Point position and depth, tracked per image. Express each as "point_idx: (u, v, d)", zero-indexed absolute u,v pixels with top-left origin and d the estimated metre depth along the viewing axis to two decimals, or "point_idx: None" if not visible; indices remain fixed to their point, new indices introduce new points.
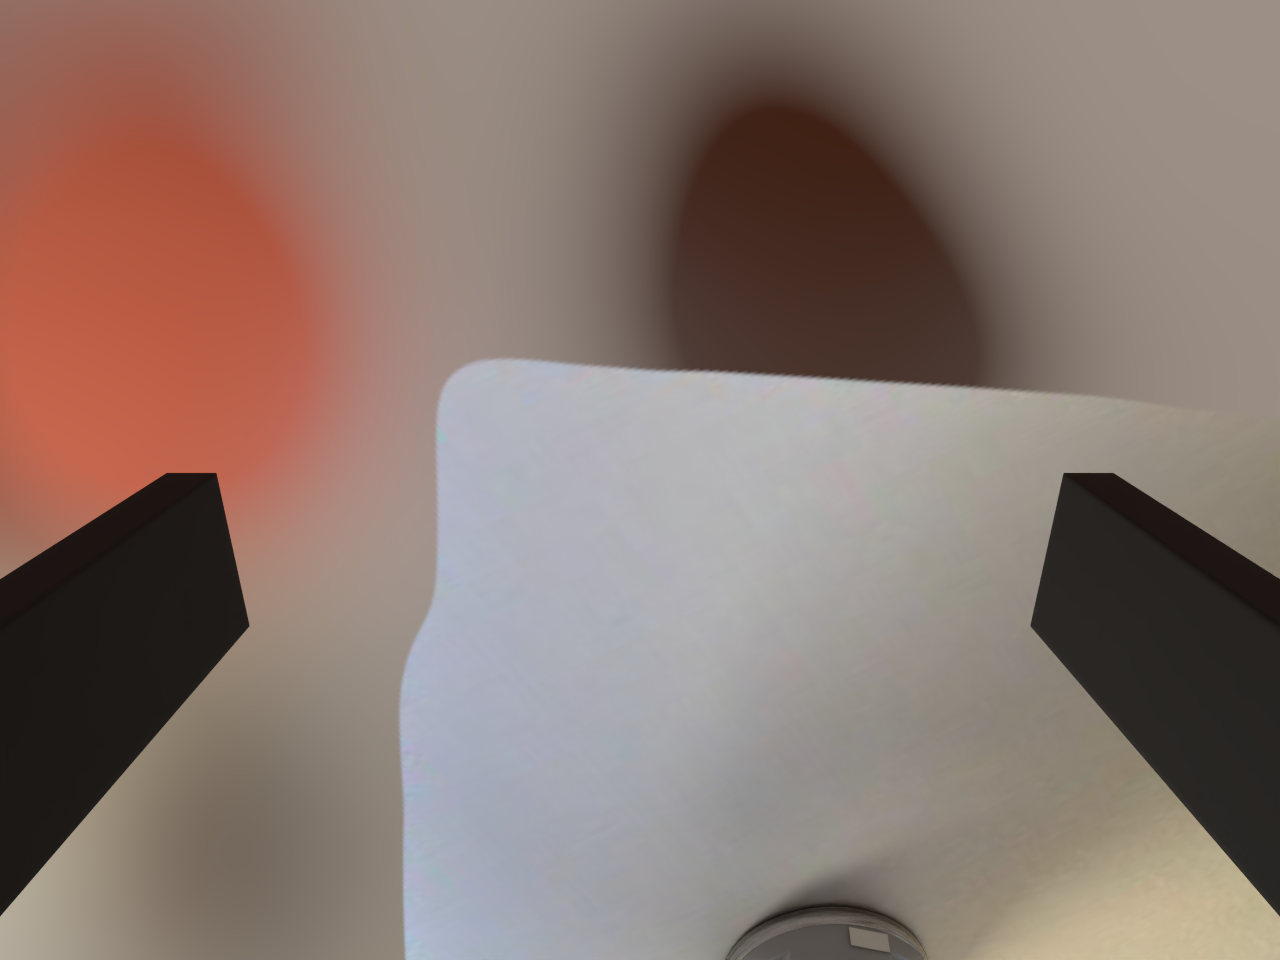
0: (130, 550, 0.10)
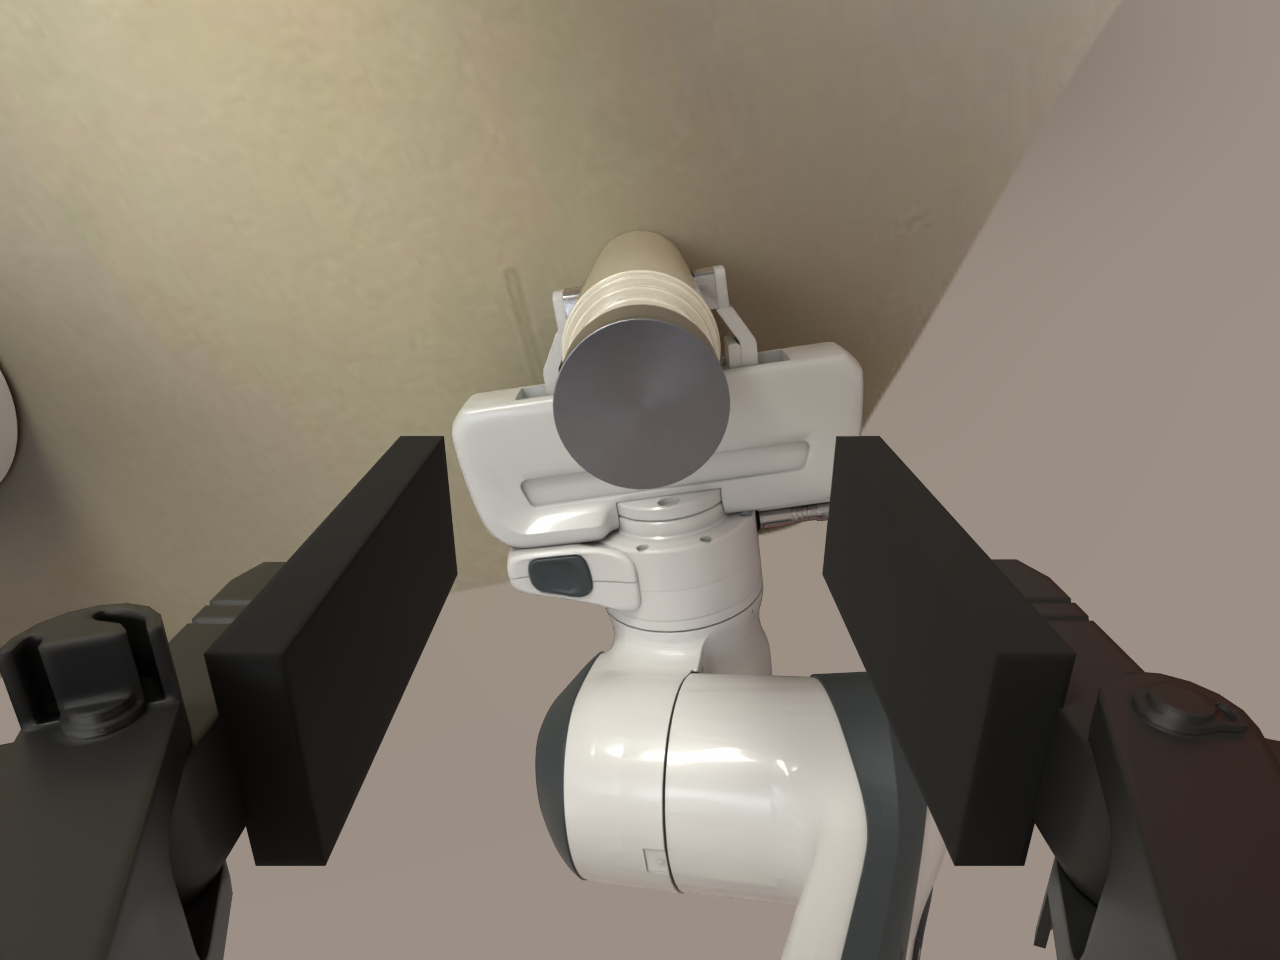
0: (409, 495, 0.11)
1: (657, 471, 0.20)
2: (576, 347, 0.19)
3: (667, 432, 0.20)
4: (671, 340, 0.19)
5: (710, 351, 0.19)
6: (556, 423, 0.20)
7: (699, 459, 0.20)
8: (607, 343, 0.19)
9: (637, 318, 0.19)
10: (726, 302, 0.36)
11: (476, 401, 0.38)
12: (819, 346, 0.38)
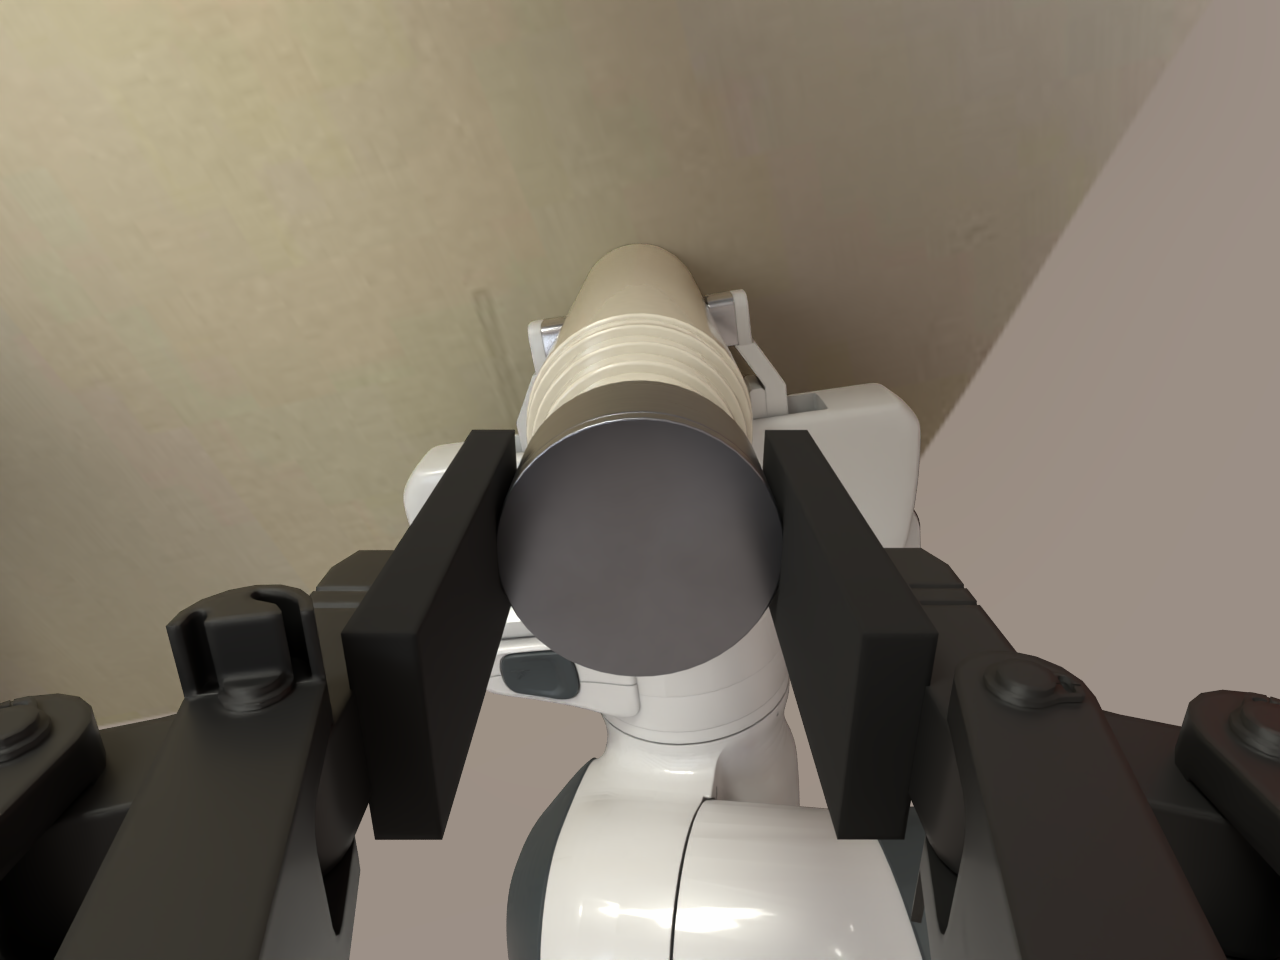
0: (493, 487, 0.12)
1: (665, 651, 0.13)
2: (531, 463, 0.11)
3: (682, 593, 0.12)
4: (689, 452, 0.11)
5: (754, 469, 0.12)
6: (502, 579, 0.12)
7: (733, 633, 0.13)
8: (583, 457, 0.11)
9: (633, 417, 0.11)
10: (748, 337, 0.28)
11: (435, 458, 0.31)
12: (862, 389, 0.31)
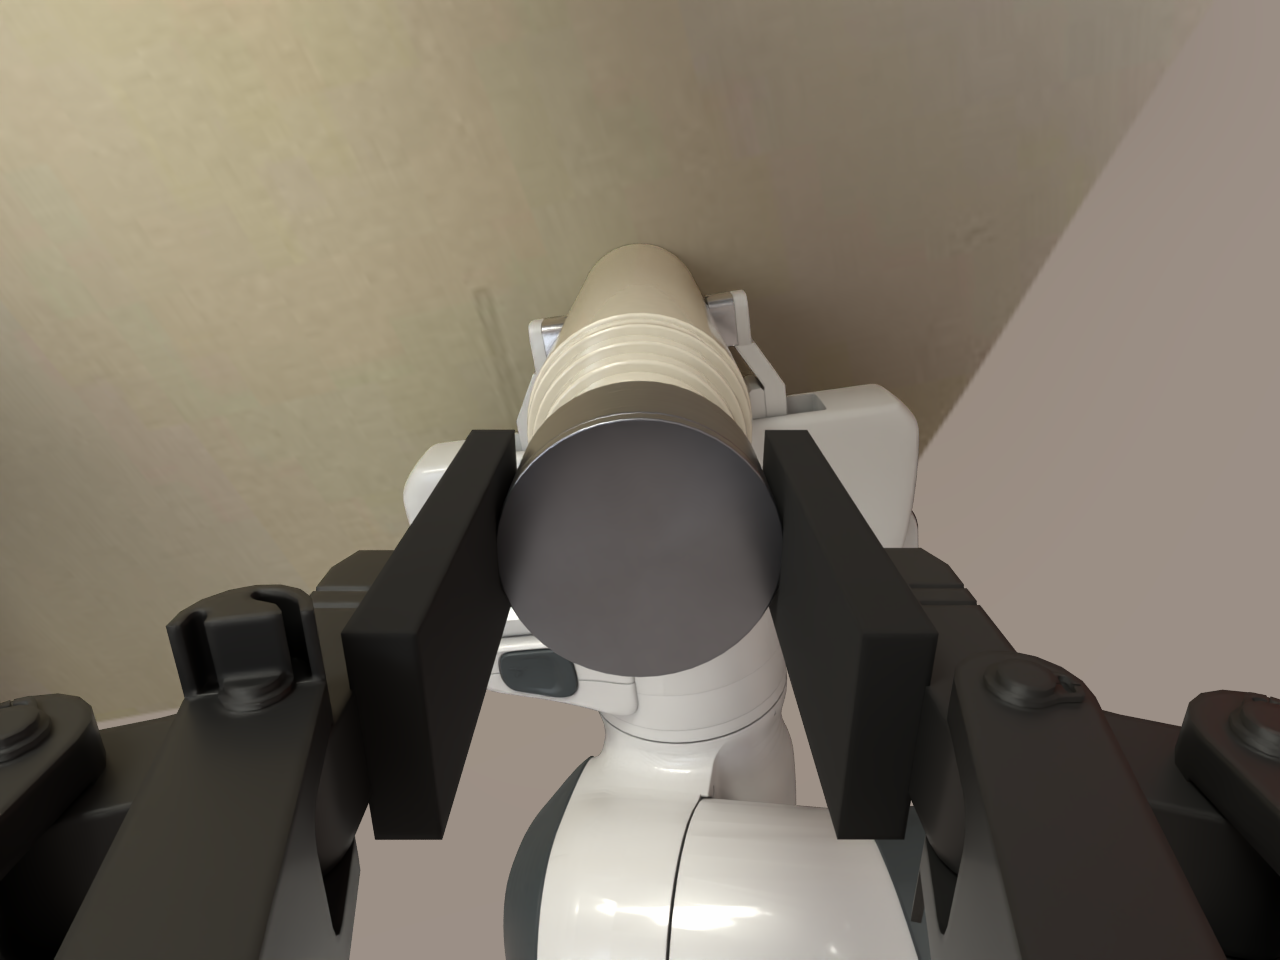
0: (493, 486, 0.12)
1: (753, 542, 0.12)
2: None
3: (686, 522, 0.12)
4: (531, 504, 0.12)
5: (554, 444, 0.11)
6: (652, 674, 0.13)
7: (742, 475, 0.12)
8: (531, 595, 0.12)
9: None
10: (748, 337, 0.29)
11: (434, 456, 0.31)
12: (861, 390, 0.31)
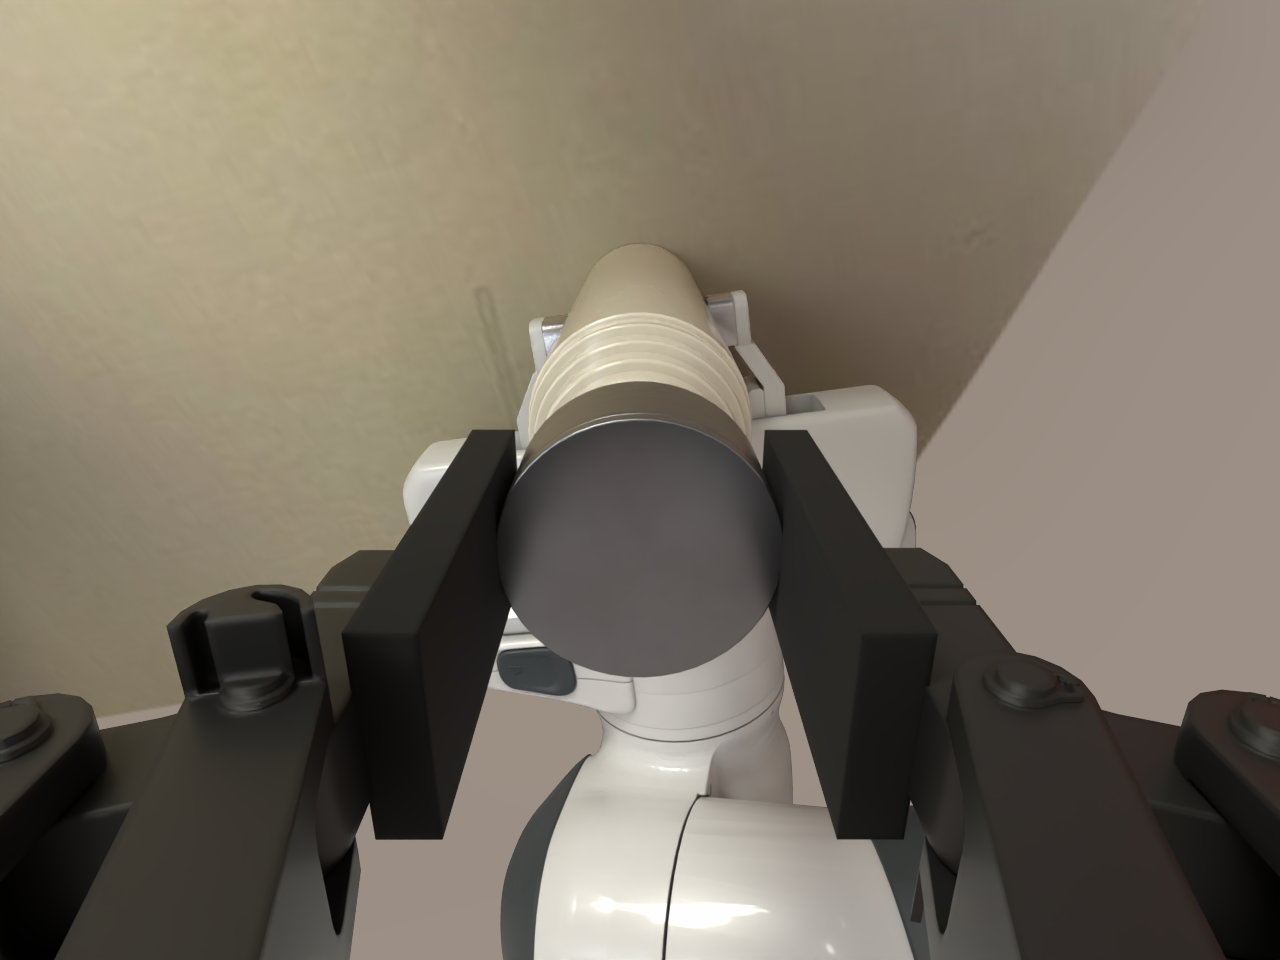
0: (493, 486, 0.12)
1: (634, 450, 0.11)
2: None
3: (604, 512, 0.12)
4: (575, 642, 0.13)
5: (518, 615, 0.13)
6: None
7: (557, 458, 0.11)
8: (670, 654, 0.13)
9: (619, 674, 0.13)
10: (748, 337, 0.29)
11: (434, 454, 0.31)
12: (860, 391, 0.31)
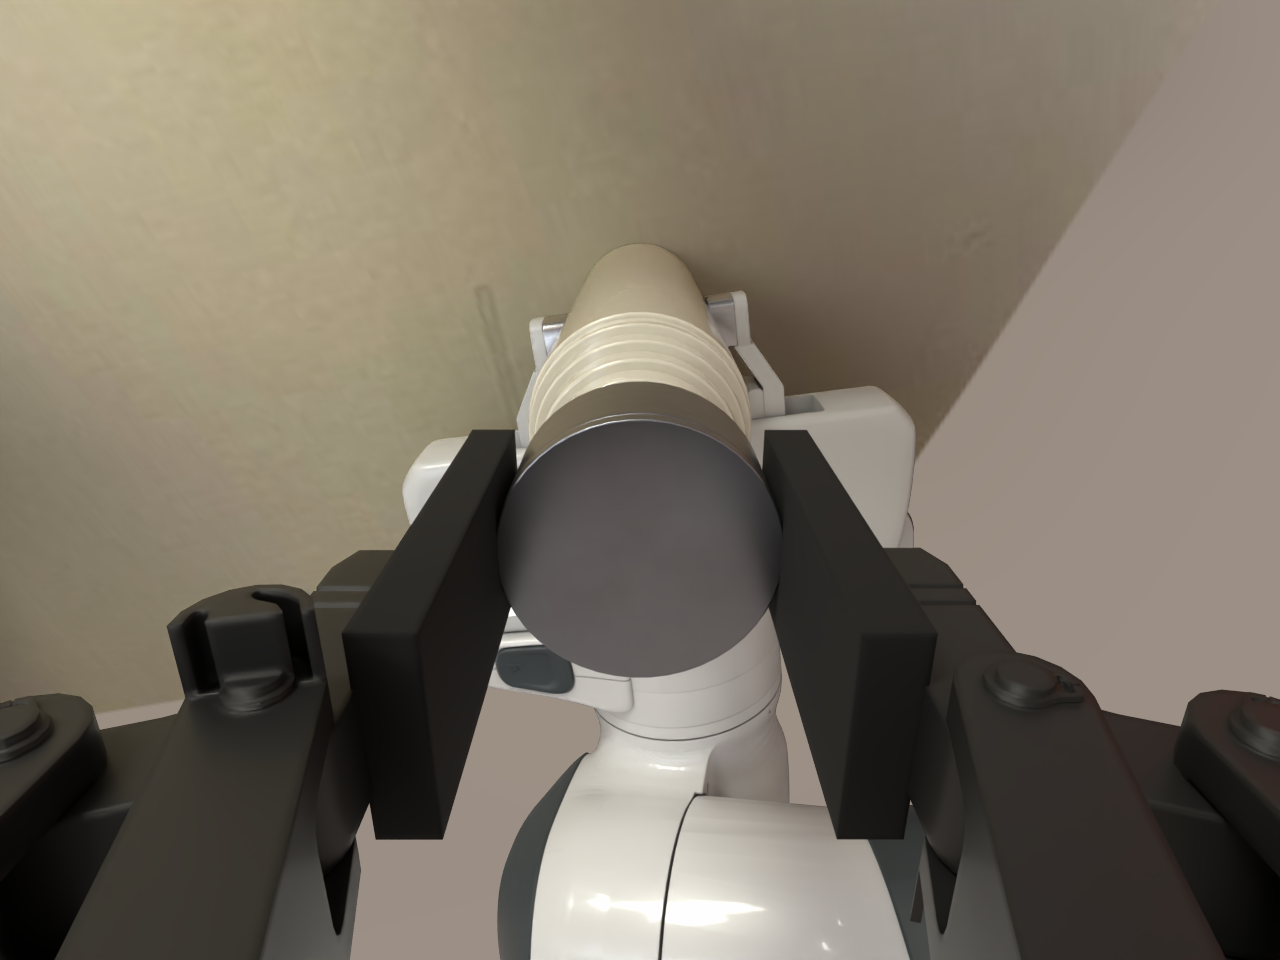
0: (493, 486, 0.12)
1: (525, 553, 0.12)
2: (769, 493, 0.12)
3: (588, 584, 0.12)
4: (728, 624, 0.13)
5: (693, 666, 0.13)
6: (654, 422, 0.11)
7: (530, 617, 0.12)
8: (757, 538, 0.12)
9: (776, 586, 0.12)
10: (747, 338, 0.29)
11: (434, 452, 0.31)
12: (859, 392, 0.31)
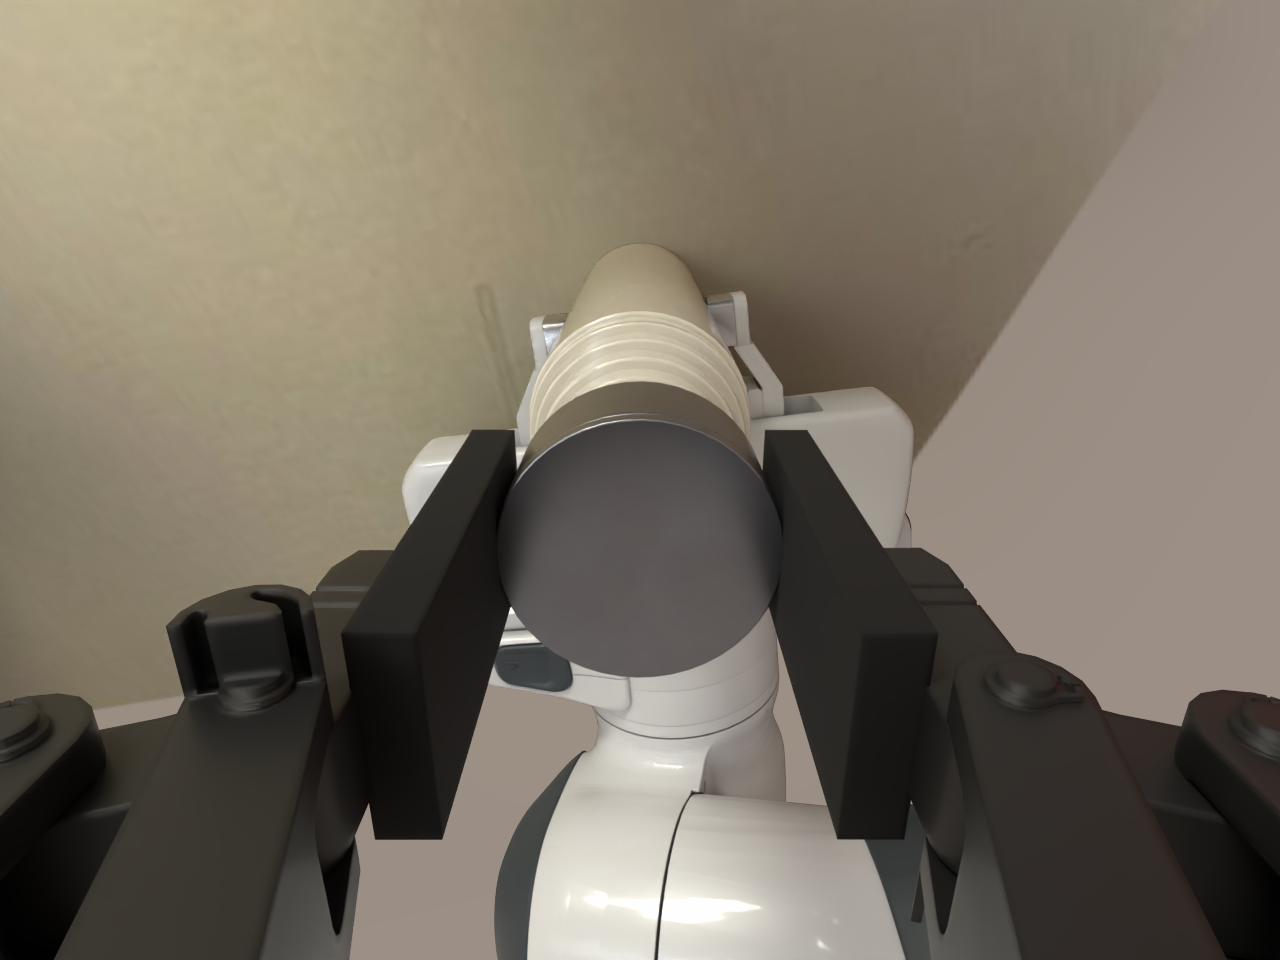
0: (493, 487, 0.12)
1: (624, 653, 0.13)
2: (578, 433, 0.11)
3: (663, 605, 0.12)
4: (728, 479, 0.12)
5: (778, 516, 0.12)
6: (498, 532, 0.12)
7: (693, 658, 0.13)
8: (629, 446, 0.11)
9: (691, 426, 0.11)
10: (747, 338, 0.29)
11: (434, 450, 0.31)
12: (858, 393, 0.31)
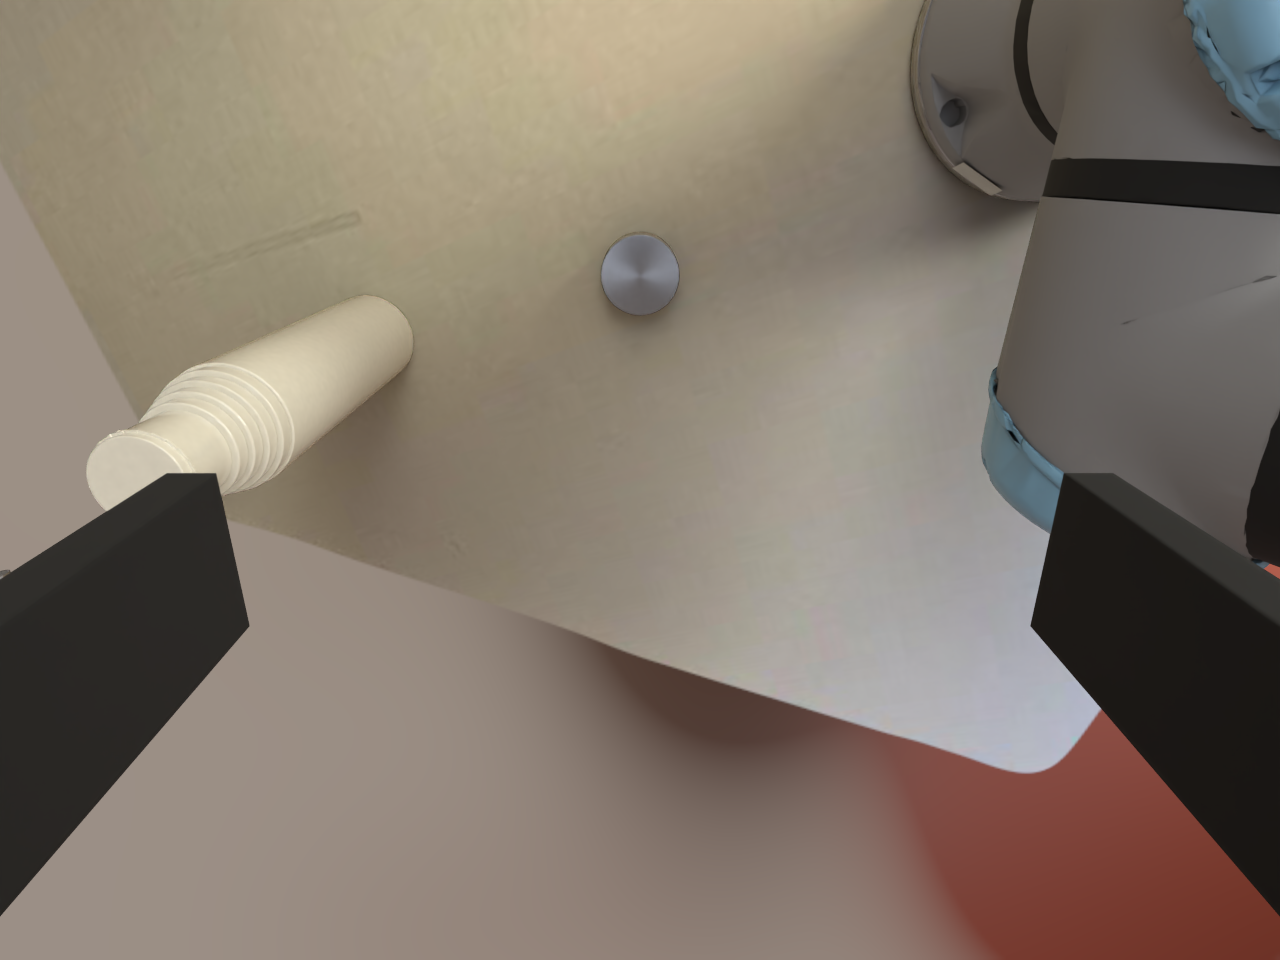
0: (130, 550, 0.10)
1: (670, 283, 0.45)
2: (603, 288, 0.45)
3: (655, 270, 0.44)
4: (619, 249, 0.44)
5: (631, 236, 0.44)
6: (629, 313, 0.45)
7: (673, 263, 0.44)
8: (608, 275, 0.45)
9: (604, 258, 0.44)
10: None
11: None
12: None
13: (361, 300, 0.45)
